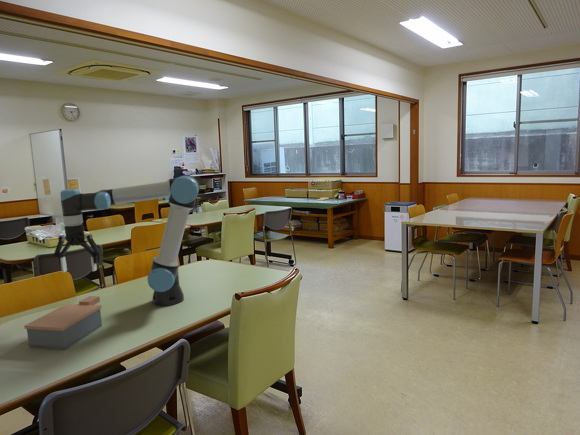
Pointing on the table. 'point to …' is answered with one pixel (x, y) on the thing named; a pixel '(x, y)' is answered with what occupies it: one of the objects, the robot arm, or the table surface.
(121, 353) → the table surface
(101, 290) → the table surface
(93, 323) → the tub
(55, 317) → the lid
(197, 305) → the table surface
